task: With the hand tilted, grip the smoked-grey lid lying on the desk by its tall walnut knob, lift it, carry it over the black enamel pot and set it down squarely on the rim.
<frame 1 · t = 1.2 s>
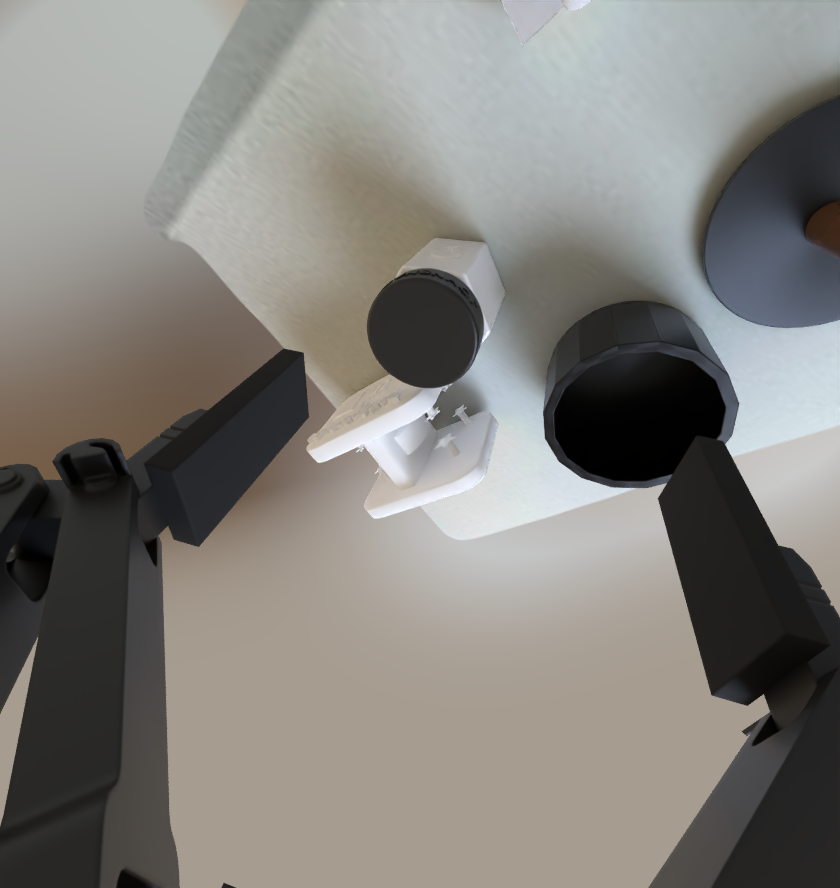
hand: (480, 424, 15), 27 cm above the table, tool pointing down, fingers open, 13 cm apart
pot: (623, 372, 39), on the table
cable organizer: (420, 402, 48), on the table
lid: (827, 222, 29), point 1 cm above the table
jar: (457, 285, 39), on the table
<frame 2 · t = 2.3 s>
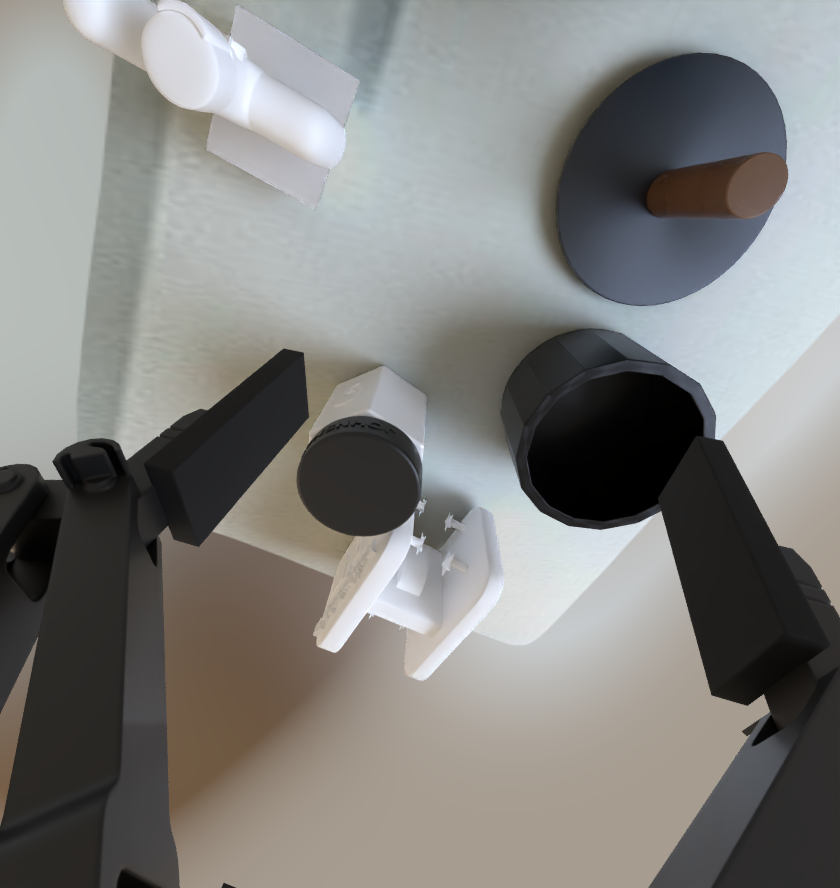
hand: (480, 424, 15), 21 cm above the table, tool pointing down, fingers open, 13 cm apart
pot: (578, 405, 37), on the table
cable organizer: (409, 530, 45), on the table
lid: (663, 194, 29), point 1 cm above the table
jar: (380, 412, 38), on the table
figurine: (298, 127, 29), on the table
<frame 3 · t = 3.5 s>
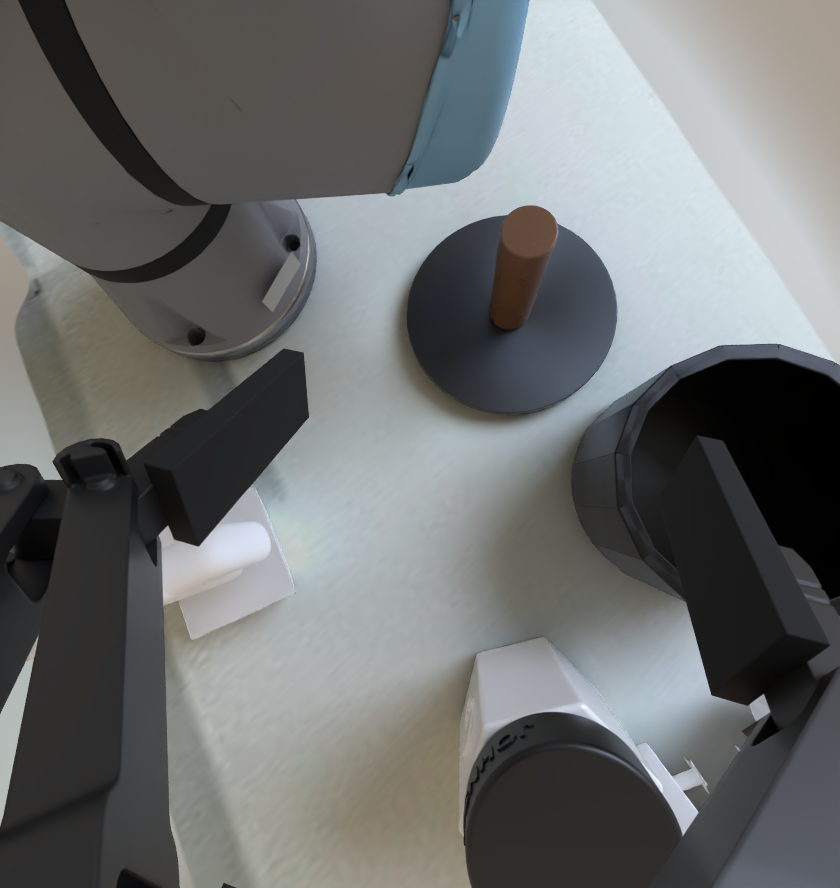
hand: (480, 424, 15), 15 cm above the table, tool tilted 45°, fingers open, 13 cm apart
pot: (674, 485, 28), on the table
cable organizer: (733, 827, 26), on the table
lid: (508, 314, 30), point 1 cm above the table
jar: (527, 704, 28), on the table
figurine: (253, 554, 31), on the table
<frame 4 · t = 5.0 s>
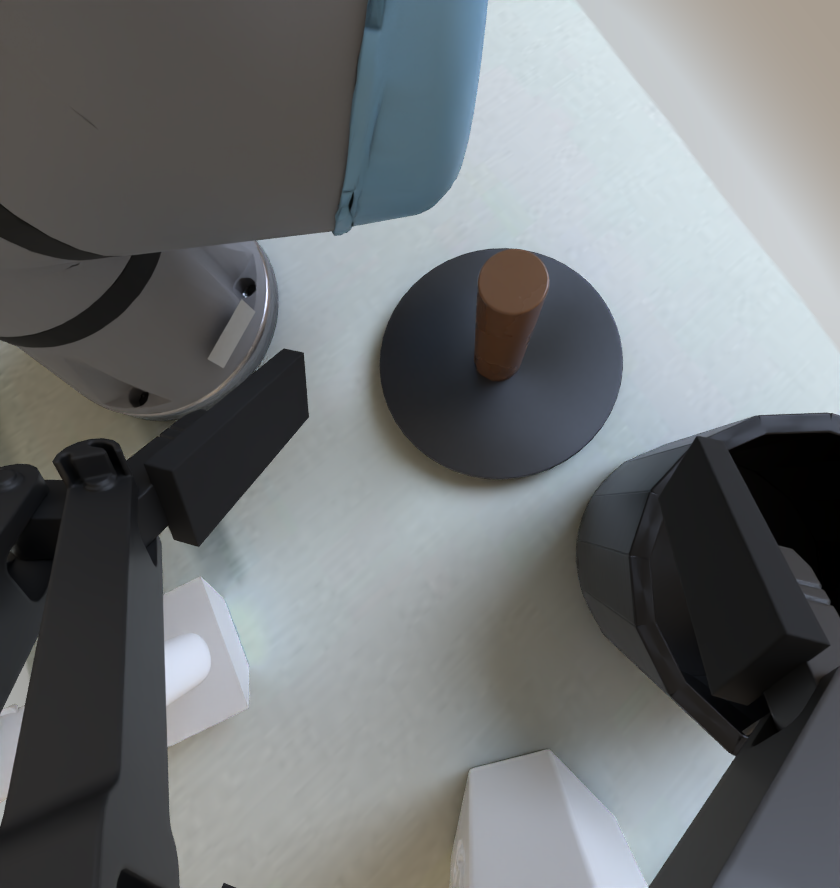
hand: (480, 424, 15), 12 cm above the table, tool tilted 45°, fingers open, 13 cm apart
pot: (697, 561, 24), on the table
lid: (496, 362, 26), point 1 cm above the table
jar: (531, 831, 23), on the table
figurine: (207, 646, 26), on the table
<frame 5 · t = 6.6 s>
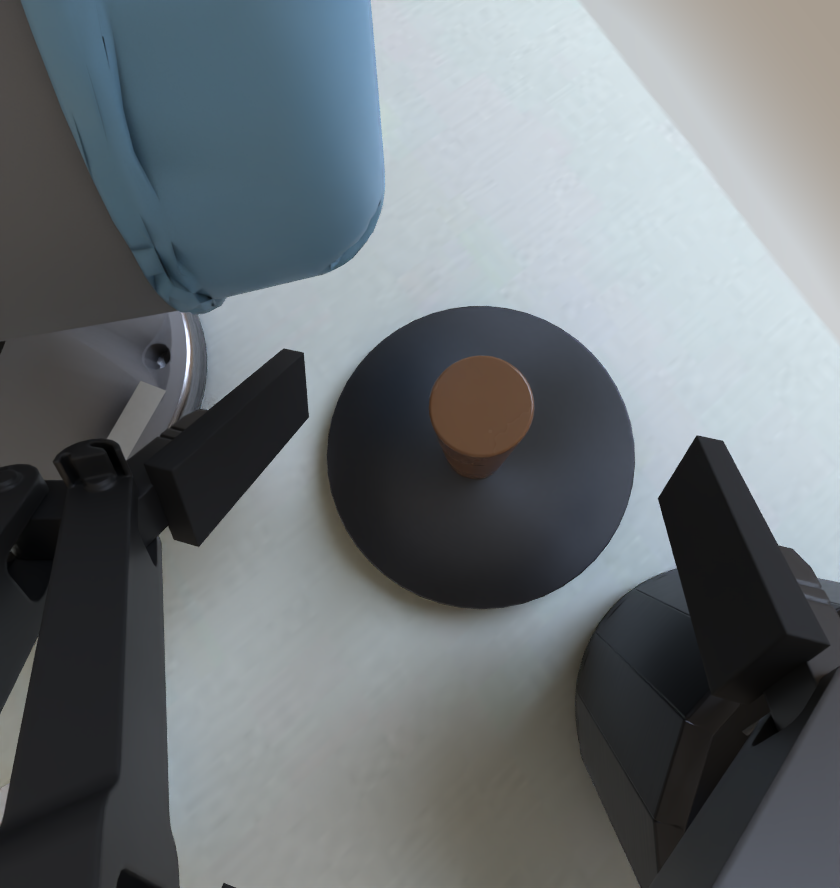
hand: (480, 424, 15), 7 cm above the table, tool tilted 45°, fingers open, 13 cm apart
pot: (733, 720, 18), on the table
lid: (474, 451, 21), point 1 cm above the table
figurine: (109, 809, 21), on the table
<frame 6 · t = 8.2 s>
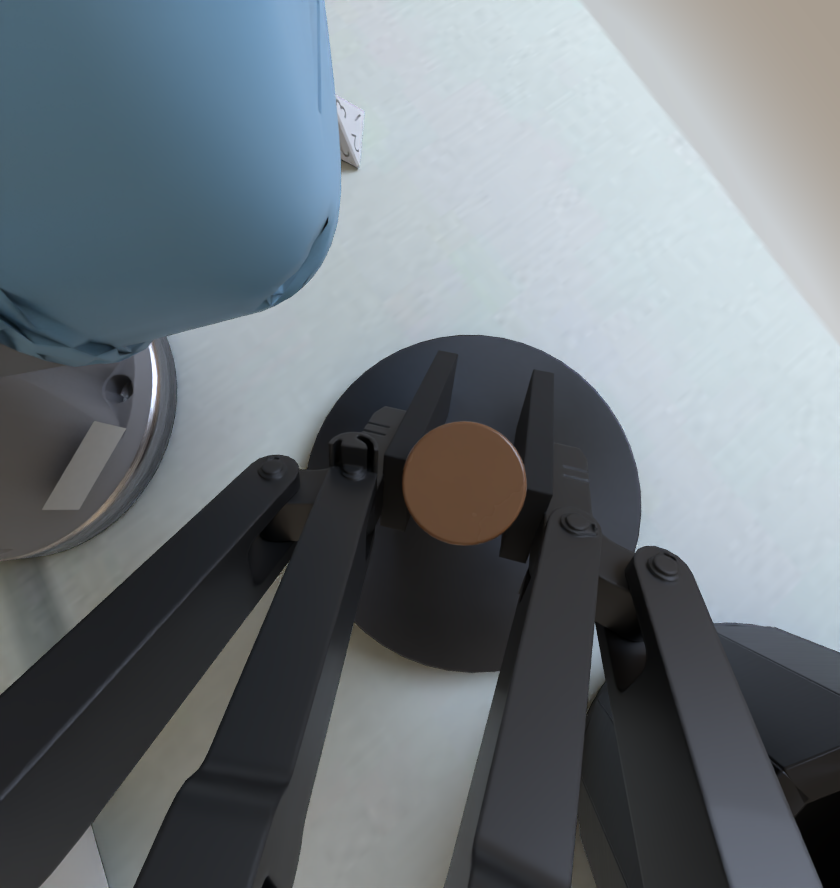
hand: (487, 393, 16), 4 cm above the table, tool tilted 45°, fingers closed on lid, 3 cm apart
pot: (749, 800, 17), on the table
tetrahedral die: (336, 144, 23), on the table
lid: (465, 494, 19), point 1 cm above the table, touching gripper
figurine: (65, 884, 19), on the table
when the fingers open (13 cm above the table, at t = 14.5 s): lid stays where it is, resting on pot.
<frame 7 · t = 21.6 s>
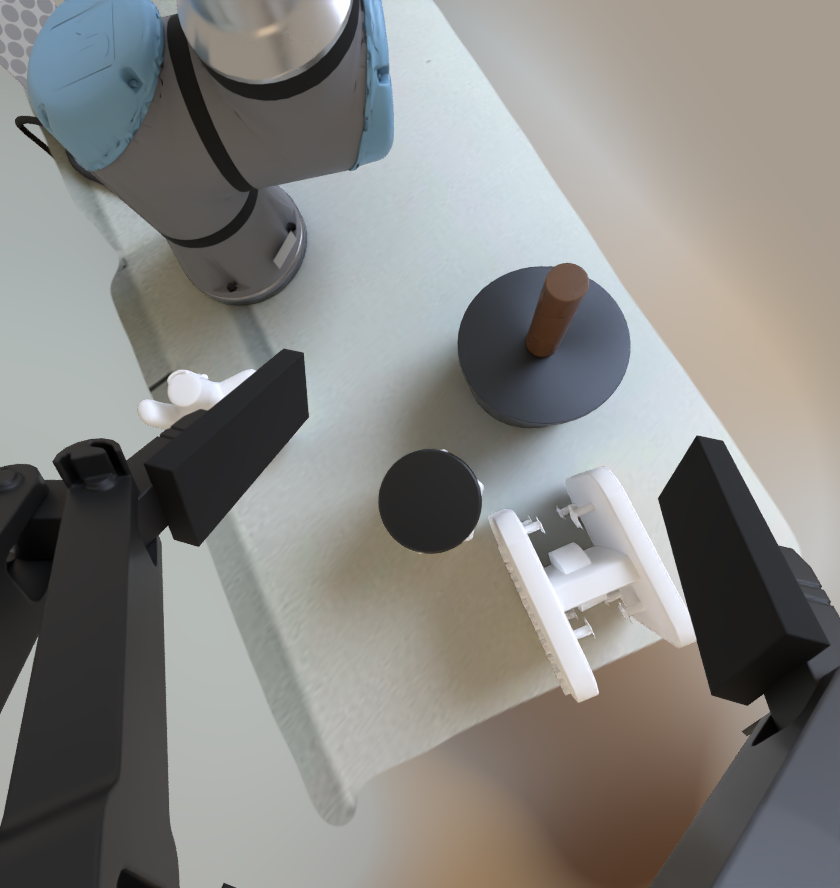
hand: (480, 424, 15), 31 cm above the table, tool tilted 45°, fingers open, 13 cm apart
pot: (528, 367, 46), on the table
cable organizer: (560, 564, 43), on the table
lid: (541, 344, 37), point 9 cm above the table, touching pot
jar: (439, 502, 45), on the table
box: (104, 114, 57), on the table
figurine: (269, 423, 48), on the table
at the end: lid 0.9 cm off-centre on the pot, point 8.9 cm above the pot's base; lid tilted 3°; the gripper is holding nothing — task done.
